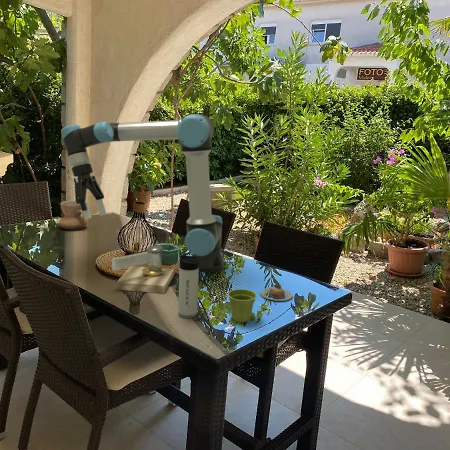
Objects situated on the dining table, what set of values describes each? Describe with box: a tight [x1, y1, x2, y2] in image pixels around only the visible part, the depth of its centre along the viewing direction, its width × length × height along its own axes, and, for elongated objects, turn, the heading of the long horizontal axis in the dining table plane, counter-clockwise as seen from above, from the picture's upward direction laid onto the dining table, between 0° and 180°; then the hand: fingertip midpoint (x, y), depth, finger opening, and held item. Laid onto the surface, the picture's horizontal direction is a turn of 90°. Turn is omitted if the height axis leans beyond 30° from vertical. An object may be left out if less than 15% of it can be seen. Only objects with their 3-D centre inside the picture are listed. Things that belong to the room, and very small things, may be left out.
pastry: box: [260, 284, 293, 302], centre depth 173 cm, size 12×12×5 cm
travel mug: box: [177, 254, 200, 319], centre depth 153 cm, size 6×7×20 cm
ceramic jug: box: [58, 200, 88, 231], centre depth 250 cm, size 18×14×14 cm
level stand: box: [116, 266, 175, 294], centre depth 180 cm, size 18×18×3 cm
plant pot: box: [227, 288, 258, 323], centre depth 152 cm, size 9×9×9 cm
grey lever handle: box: [111, 245, 164, 276], centre depth 176 cm, size 21×8×10 cm, turn 133°
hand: (95, 217), depth 184 cm, fingers open, 13 cm apart
